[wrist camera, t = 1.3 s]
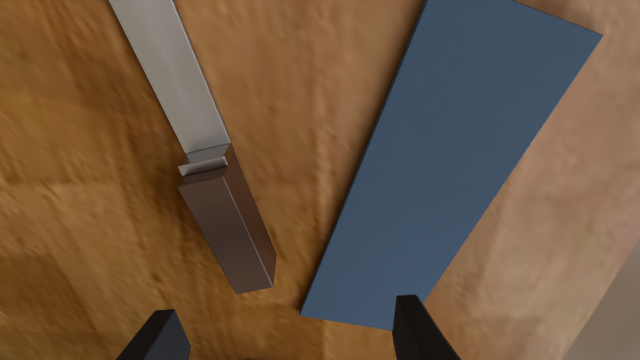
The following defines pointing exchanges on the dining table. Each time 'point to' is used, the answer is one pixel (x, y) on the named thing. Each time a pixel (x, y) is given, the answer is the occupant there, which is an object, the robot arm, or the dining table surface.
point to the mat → (442, 150)
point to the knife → (200, 144)
